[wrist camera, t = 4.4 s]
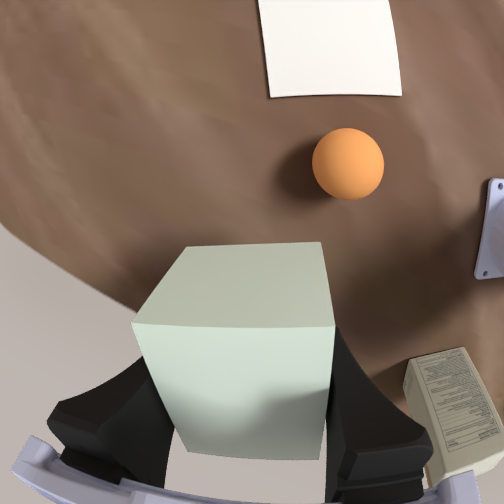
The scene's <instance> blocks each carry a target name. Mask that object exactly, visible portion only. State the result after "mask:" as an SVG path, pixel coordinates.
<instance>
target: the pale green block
mask: <svg viewBox="0 0 504 504" xmlns="http://www.w3.org/2000/svg"><path fill="white" fill-rule="evenodd" d="M131 326H132V329H133V331H134V334H135V336H136V339H137V342H138V344H139V347H140V350H141V352H142V355H143V357H144V360H145V362H146V365H147V367H148V369H149V372H150V374H151V377H152V379H153V381H154V383H155V386H156V388H157V390H158V392H159V395H160V397H161V399H162V401H163V403H164V406H165V408H166V410H167V412H168V414H169V416H170V418H171V420H172V422H173V424H174V426H175V428H176V430H177V432H178V434H179V436H180V438H181V440H182V442H183V444H184V446H185V447H186V449H187V451H188V452H194V453H201V454H208V455H216V456H225V457H236V458H248V459H267V460H319V455H320V449H321V443H322V436H323V431H324V424H325V417H326V410H327V402H328V395H329V386H330V378H331V368H332V359H333V348H334V336H335V321H334V315H333V308H332V302H331V296H330V290H329V284H328V279H327V273H326V268H325V262H324V257H323V252H322V247H321V242H305V243H275V244H247V245H220V246H194V247H186V248H185V249H184V251H183V252H182V253H181V255H180V256H179V257H178V259H177V260H176V261H175V262H174V264H173V265H172V266H171V268H170V269H169V270H168V272H167V273H166V274H165V276H164V277H163V279H162V280H161V281H160V283H159V284H158V285H157V287H156V288H155V289H154V291H153V292H152V293H151V295H150V296H149V298H148V299H147V300H146V302H145V303H144V305H143V306H142V307H141V309H140V310H139V312H138V313H137V314H136V316H135V317H134V319H133V320H132V322H131Z"/></svg>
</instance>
